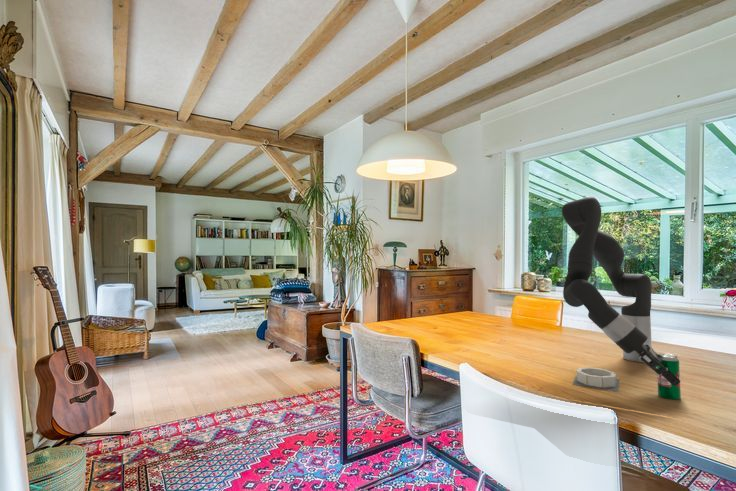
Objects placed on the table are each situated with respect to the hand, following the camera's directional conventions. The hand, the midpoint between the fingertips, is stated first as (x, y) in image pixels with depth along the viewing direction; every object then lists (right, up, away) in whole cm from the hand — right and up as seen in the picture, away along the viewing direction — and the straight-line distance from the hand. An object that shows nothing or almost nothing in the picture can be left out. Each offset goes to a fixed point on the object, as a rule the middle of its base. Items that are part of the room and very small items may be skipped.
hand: (676, 380), depth 106 cm
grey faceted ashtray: (-14, -6, +14) cm, 21 cm away
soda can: (-1, -6, +1) cm, 6 cm away
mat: (-14, -6, +14) cm, 21 cm away
